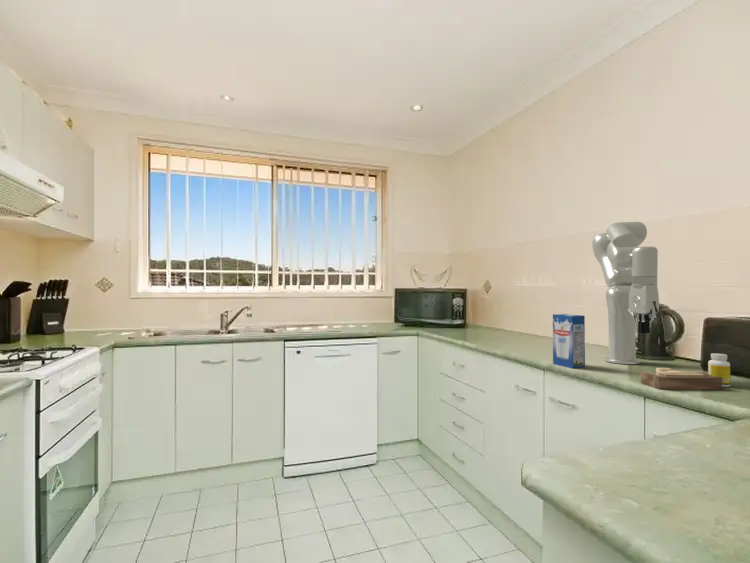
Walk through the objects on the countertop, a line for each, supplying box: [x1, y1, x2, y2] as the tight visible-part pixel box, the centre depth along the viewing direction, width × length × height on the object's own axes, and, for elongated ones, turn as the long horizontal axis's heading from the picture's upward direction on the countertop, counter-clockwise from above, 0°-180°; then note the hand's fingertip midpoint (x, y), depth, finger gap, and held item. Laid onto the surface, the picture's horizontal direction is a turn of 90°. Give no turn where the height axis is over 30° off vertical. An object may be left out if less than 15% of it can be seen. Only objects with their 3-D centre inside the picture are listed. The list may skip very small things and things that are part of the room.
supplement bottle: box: [707, 352, 731, 388], centre depth 127 cm, size 5×5×10 cm
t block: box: [655, 367, 705, 377], centre depth 129 cm, size 10×12×4 cm
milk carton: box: [552, 313, 586, 369], centre depth 159 cm, size 10×6×20 cm, turn 20°
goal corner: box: [640, 371, 723, 390], centre depth 126 cm, size 8×19×4 cm, turn 90°
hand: (643, 332), depth 144 cm, fingers closed
